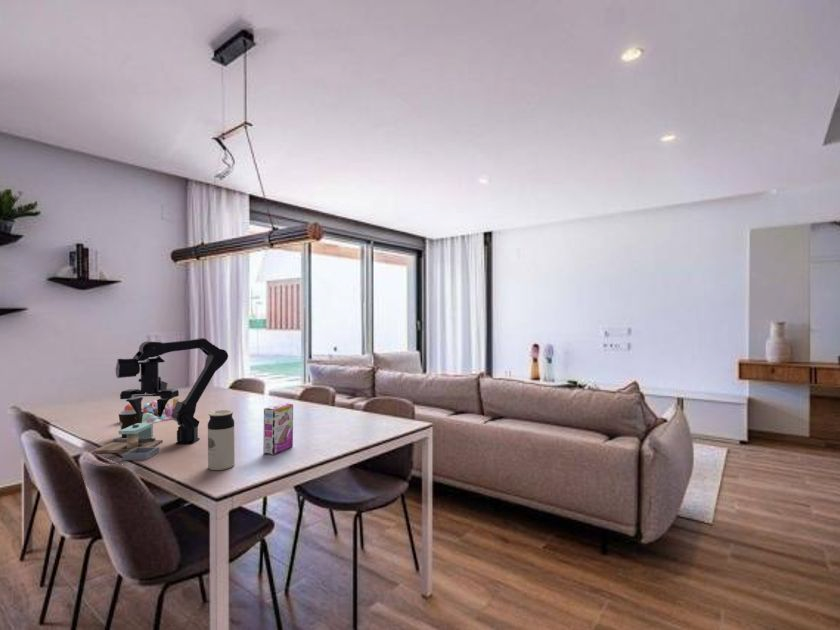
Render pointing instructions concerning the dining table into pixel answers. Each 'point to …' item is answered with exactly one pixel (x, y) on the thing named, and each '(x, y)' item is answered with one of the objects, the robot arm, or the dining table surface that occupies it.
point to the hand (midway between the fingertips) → (150, 416)
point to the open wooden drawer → (121, 445)
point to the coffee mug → (129, 419)
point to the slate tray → (140, 453)
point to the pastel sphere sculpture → (155, 411)
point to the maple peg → (132, 441)
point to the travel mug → (221, 440)
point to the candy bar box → (278, 428)
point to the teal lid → (139, 430)
